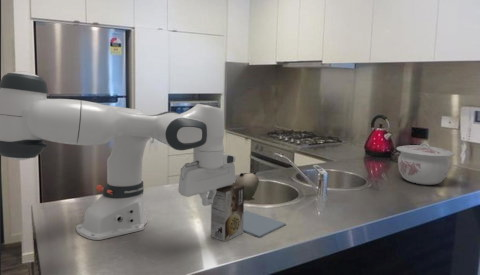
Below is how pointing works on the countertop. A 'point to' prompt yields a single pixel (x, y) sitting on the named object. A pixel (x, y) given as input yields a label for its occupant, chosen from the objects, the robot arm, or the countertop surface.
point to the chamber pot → (424, 163)
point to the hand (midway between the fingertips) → (207, 204)
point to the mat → (259, 224)
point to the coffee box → (227, 212)
